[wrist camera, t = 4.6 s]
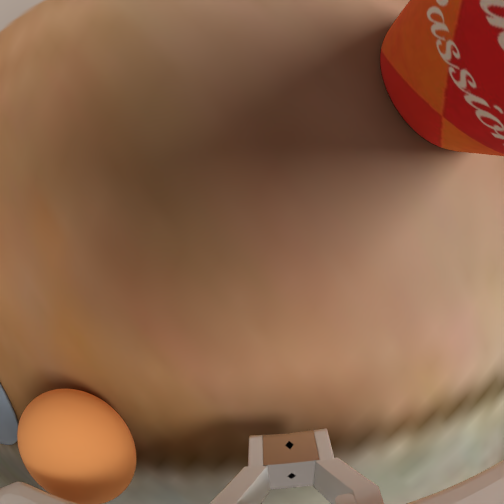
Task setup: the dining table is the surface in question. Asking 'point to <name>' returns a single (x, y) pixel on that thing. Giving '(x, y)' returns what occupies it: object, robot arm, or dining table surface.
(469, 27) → the paper cup
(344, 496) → the robot arm
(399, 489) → the dining table surface
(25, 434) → the ball
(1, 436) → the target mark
